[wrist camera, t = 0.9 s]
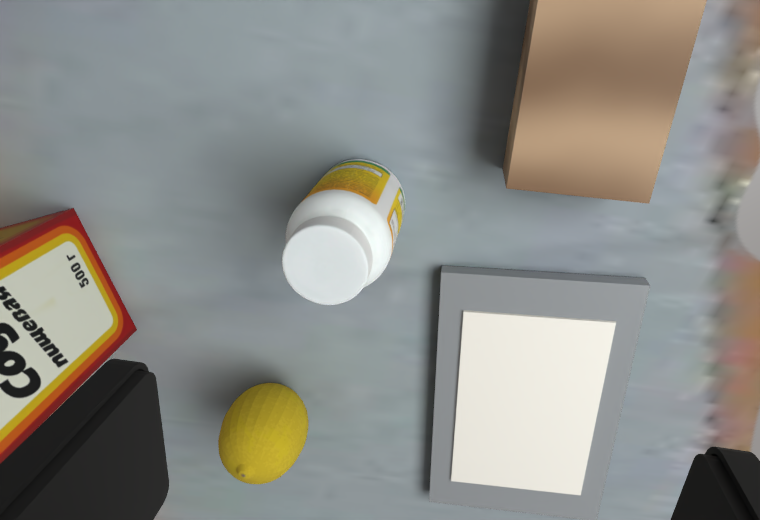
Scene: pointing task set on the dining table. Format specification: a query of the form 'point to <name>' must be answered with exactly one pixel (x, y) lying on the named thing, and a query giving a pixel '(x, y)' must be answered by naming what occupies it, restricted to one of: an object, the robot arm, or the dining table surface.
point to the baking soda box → (51, 320)
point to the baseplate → (530, 387)
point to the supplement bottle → (343, 232)
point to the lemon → (263, 433)
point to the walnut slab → (598, 95)
